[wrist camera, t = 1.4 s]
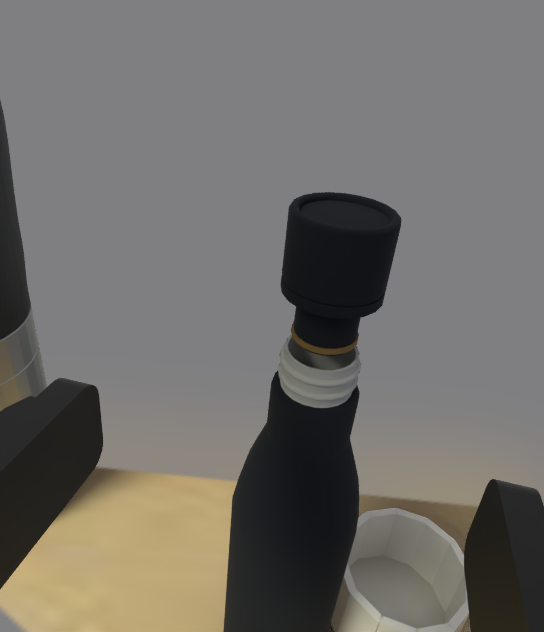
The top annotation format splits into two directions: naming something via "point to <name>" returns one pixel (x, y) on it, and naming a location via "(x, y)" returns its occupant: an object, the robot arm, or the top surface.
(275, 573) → the black insulated water bottle
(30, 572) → the top surface
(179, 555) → the top surface
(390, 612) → the ceramic cup
